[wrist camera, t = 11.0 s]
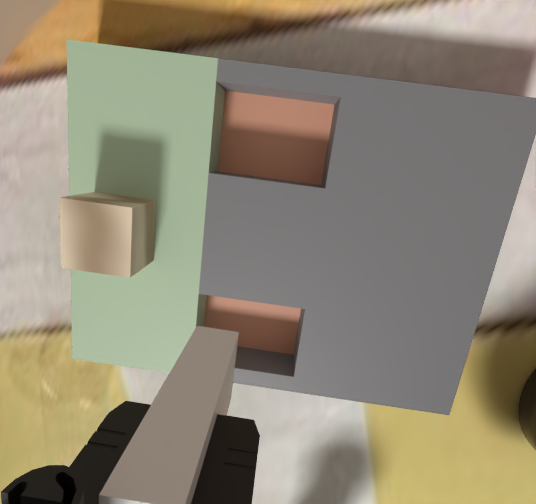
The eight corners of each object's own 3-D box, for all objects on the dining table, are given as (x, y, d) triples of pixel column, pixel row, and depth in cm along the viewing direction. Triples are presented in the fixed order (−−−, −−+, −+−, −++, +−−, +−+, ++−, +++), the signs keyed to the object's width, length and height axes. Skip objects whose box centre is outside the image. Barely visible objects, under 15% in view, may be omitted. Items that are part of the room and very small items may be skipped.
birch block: (156, 200, 28) (132, 207, 24) (153, 260, 29) (130, 277, 25) (94, 191, 28) (59, 197, 24) (94, 252, 29) (61, 267, 25)
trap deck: (511, 107, 28) (546, 99, 25) (431, 387, 35) (449, 415, 31) (96, 55, 29) (66, 39, 25) (95, 337, 36) (72, 358, 32)
